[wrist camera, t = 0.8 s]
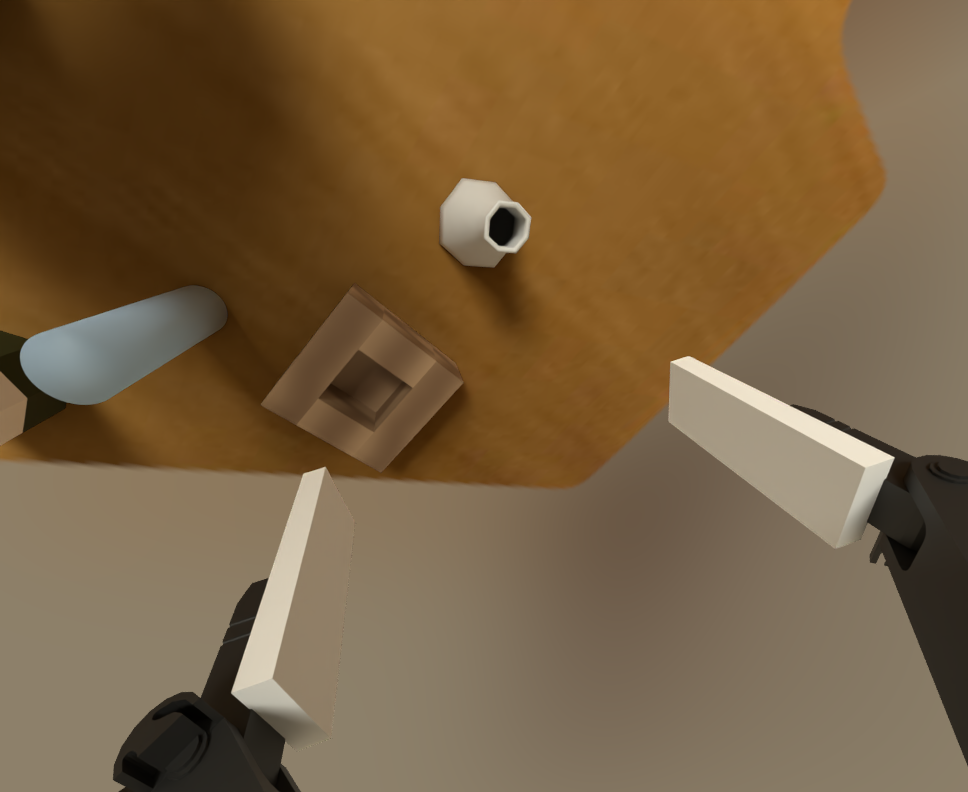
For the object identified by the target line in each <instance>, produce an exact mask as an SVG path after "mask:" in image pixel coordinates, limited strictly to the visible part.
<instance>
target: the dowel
mask: <svg viewBox="0 0 968 792" xmlns="http://www.w3.org/2000/svg"><path fill="white" fill-rule="evenodd" d="M227 317H228V313H227V308H226V306H225V304H224V302H223V300H222V299H221V298H220V297H219V296H218V295H217V294H216V293H215V292H213V291H211V290H210V289H208V288H205V287H202V286H197V285H190V286H185V287H182V288H179V289H176V290H173V291H170V292H166V293H163V294H160V295H157V296H154V297H151V298H148V299H145V300H142V301H138V302H135V303H132V304H129V305H126V306H123V307H120V308H117V309H114V310H110V311H107V312H104V313H101V314H98V315H95V316H92V317H89V318H86V319H82V320H79V321H76V322H73V323H70V324H67V325H64V326H61V327H58V328H54V329H51V330H48V331H45V332H42V333H39V334H37V335H34V336H32V337H31V338H29V339H28V340H27V341H26V342H25V343H24V345H23V347H22V349H21V352H20V362H21V366H22V368H23V370H24V372H25V374H26V376H27V377H28V378H29V380H30V381H31V382H32V383H33V384H34V385H35V386H36V387H38V388H39V389H40V390H42V391H43V392H45V393H46V394H48V395H50V396H52V397H54V398H56V399H58V400H61V401H64V402H68V403H72V404H79V405H91V404H97V403H101V402H104V401H106V400H108V399H109V398H111V397H113V396H114V395H116V394H117V393H119V392H121V391H122V390H124V389H125V388H127V387H129V386H130V385H132V384H133V383H135V382H137V381H138V380H140V379H141V378H143V377H145V376H146V375H148V374H149V373H151V372H153V371H154V370H156V369H157V368H159V367H160V366H162V365H164V364H165V363H167V362H168V361H170V360H172V359H173V358H175V357H176V356H178V355H180V354H181V353H183V352H184V351H186V350H188V349H189V348H191V347H192V346H194V345H196V344H197V343H199V342H200V341H202V340H204V339H205V338H207V337H208V336H210V335H212V334H213V333H215V332H216V331H218V330H220V329H221V328H222V327H223V326H224V325H225V323H226V321H227Z"/></svg>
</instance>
